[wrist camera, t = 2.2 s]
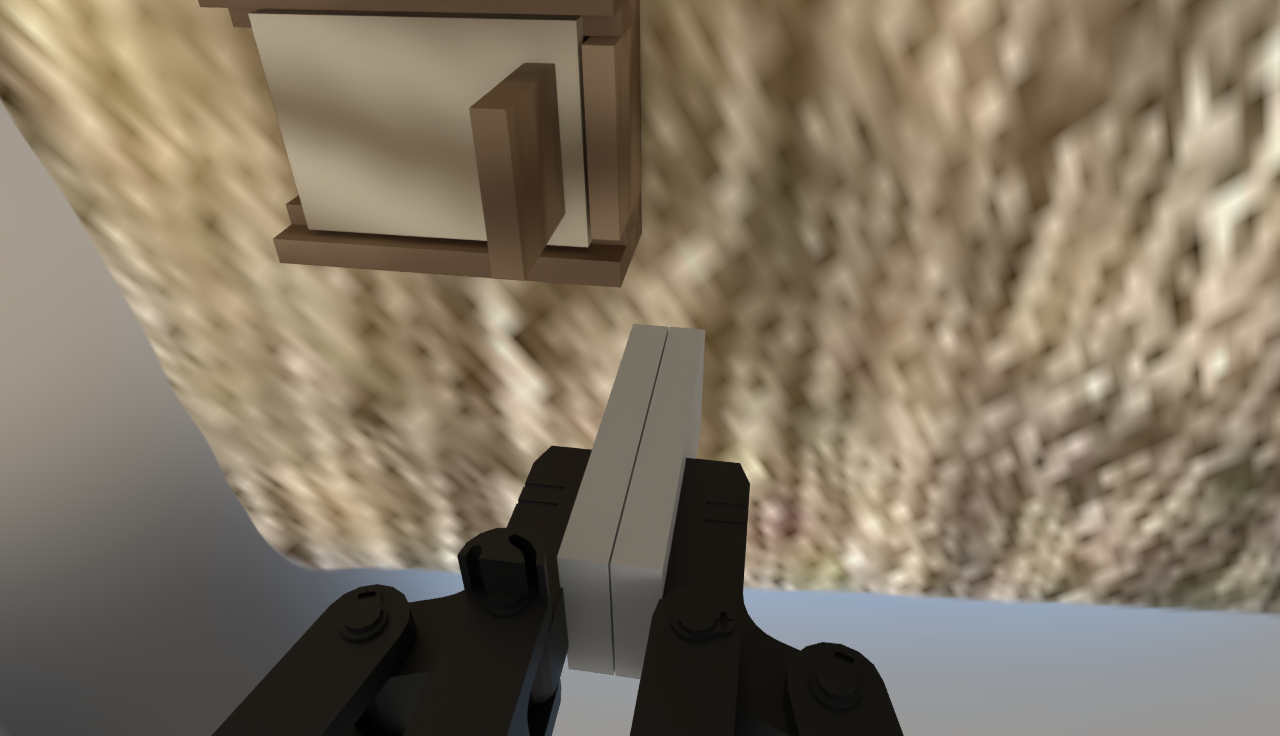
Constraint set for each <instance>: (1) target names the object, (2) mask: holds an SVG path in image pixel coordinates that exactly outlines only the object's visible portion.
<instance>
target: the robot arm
mask: <svg viewBox="0 0 1280 736" xmlns="http://www.w3.org/2000/svg"><path fill="white" fill-rule="evenodd" d="M704 343H705V330H703V329H690V328H678V327H670V328H669V332H668V327H665V326H652V325H639V324H633V327H632V330H631V333H630V336H629V339H628V342H627V345H626V348H625V351H624V354H623V358H622V361H621V364H620V367H619V370H618V373H617V376H616V379H615V382H614V385H613V388H612V391H611V394H610V397H609V400H608V403H607V406H606V409H605V412H604V415H603V418H602V421H601V424H600V428H599V431H598V434H597V437H596V440H595V443H594V446H593V449H592V450H589V449H580V448H570V447H560V446H551V447H550V448H549V449H548V450H547V451H546V452H545V453H543V454H542V455H541V456H540V457H539V458H538V459H537V460H536V461H535V462H534V463H533V466H532V468H531V470H530V473H529V475H528V478H527V480H526V483H525V487H523V490H522V492H521V495H520V497H519V499H518V504H516V507H515V509H514V511H513V514H512V516H511V519H510V521H509V523H508V526H507V528H495V529H492V530H489V531H486V532H483V533H480V534H479V535H477V536H476V537H474V538H473V539H471V540H470V541H469V542H467V543H466V544H465V546H464V547H463V548H462V550H461V551H460V552H459V554H458V555H457V556H458V561H459V566H460V570H461V575H462V579H463V584H464V588H465V590H463V591H461V592H459V593H457V594H454V595H450V596H446V597H442V598H435V599H430V600H422V601H416V602H409V603H408V602H407V599H406V597H405V595H404V594H402V593H401V592H400V591H398V590H397V589H395V588H394V587H390V586H384V585H378V584H376V585H370V586H363V587H359V588H357V589H355V590H353V591H350V592H348V593H346V594H344V595H342V596H341V597H340V598H339V599H338V600H336V601H335V602H334V603H333V604H331V605H330V606H329V607H328V608H327V609H326V611H325V612H324V613H323V614H322V615H321V616H320V617H319V618H318V619H317V621H315V623H314V624H313V625H312V626H311V627H310V628H309V629H308V630H307V631H306V632H305V634H304V635H303V636H302V637H301V638H300V639H299V640H298V641H297V642H296V644H295V645H294V646H293V647H292V648H291V649H290V650H289V651H288V652H287V653H286V654H285V656H284V657H283V658H282V659H281V660H280V661H279V662H278V663H277V664H276V665H275V667H274V668H273V669H272V670H271V671H270V672H269V673H268V674H267V675H266V676H265V678H264V679H263V680H262V681H261V682H260V683H259V684H258V685H257V686H256V687H255V688H254V690H253V691H252V692H251V693H250V694H249V695H248V696H247V697H246V698H245V699H244V701H243V702H242V703H241V704H240V705H239V706H238V707H237V708H236V709H235V710H234V711H233V713H232V714H231V715H230V716H229V717H228V718H227V719H226V720H225V721H224V722H223V724H222V725H221V726H220V727H219V728H218V729H217V730H216V731H215V732H214V734H213V735H212V736H552V732H553V729H554V724H555V721H556V717H557V713H558V710H559V706H560V701H561V682H560V676H561V672H562V669H563V665H564V661H565V658H566V654H567V657H568V666H569V669H574V670H581V671H588V672H594V673H601V674H609V675H614V671H615V675H616V676H622V677H630V678H636V679H640V684H639V690H638V695H637V700H636V706H635V711H634V716H633V722H632V727H631V732H630V736H903V733H902V730H901V727H900V725H899V722H898V719H897V716H896V714H895V711H894V708H893V706H892V703H891V700H890V698H889V695H888V692H887V689H886V687H885V684H884V682H883V679H882V678H881V676H880V674H879V673H878V671H877V669H876V668H875V666H874V664H872V663H871V662H870V661H869V660H868V659H867V658H865V657H864V656H863V655H862V654H861V653H860V652H858V651H855V650H853V649H851V648H849V647H846V646H844V645H842V644H835V643H825V642H822V643H818V644H814V645H810V646H806V647H805V648H804V649H802V650H801V651H800V650H798V649H796V648H793V647H791V646H789V645H786V644H784V643H782V642H780V641H778V640H776V639H774V638H772V637H771V636H769V635H767V634H766V633H764V632H763V631H762V630H761V629H760V628H759V627H758V626H756V624H755V623H754V622H753V620H752V619H751V618H750V616H749V615H748V613H747V610H746V607H745V605H744V599H743V584H744V568H745V553H746V537H747V522H748V506H749V491H750V483H749V481H748V479H747V477H746V475H745V473H744V471H743V469H742V466H741V464H740V463H733V462H723V461H713V460H704V459H696V454H697V448H698V442H699V435H700V428H701V407H702V385H703V364H704Z"/></svg>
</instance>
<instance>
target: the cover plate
mask: <svg viewBox="0 0 1280 736" xmlns="http://www.w3.org/2000/svg"><path fill="white" fill-rule="evenodd" d="M248 15H249V19H250V22H251V26H252V29H253V33H254V37H255V40H256V44H257V47H258V51H259V54H260V58H261V61H262V65H263V69H264V72H265V76H266V79H267V83H268V86H269V90H270V94H271V97H272V101H273V104H274V108H275V111H276V115H277V118H278V122H279V126H280V129H281V133H282V136H283V140H284V143H285V147H286V151H287V154H288V158H289V161H290V165H291V168H292V172H293V175H294V179H295V183H296V186H297V190H298V193H299V197H300V200H301V204H302V207H303V211H304V215H305V218H306V222H307V225H308V229H311V230H327V231H342V232H358V233H373V234H388V235H404V236H419V237H435V238H450V239H466V240H481V241H487V244H488V251H489V258H490V266H491V273H492V278H495V279H508V280H522V281H525V279H526V277H527V276H528V274H529V273H530V271H531V269H532V268H533V266H534V264H535V263H536V261H537V259H538V258H539V256H540V255H541V253H542V251H543V250H544V248H545V246H546V245H558V246H574V247H589V245H590V243H591V241H592V239H591V225H590V205H589V185H588V165H587V145H586V126H585V106H584V86H583V66H582V46H581V45H582V44H583V43H584V40H583V20H582V16H578V15H530V14H482V13H434V12H386V11H339V10H291V9H261V10H258V11H255V12H251V13H248Z"/></svg>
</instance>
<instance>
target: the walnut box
mask: <svg viewBox="0 0 1280 736" xmlns="http://www.w3.org/2000/svg"><path fill="white" fill-rule="evenodd" d="M198 1H199V4H200V7H221V8H228V9H229V12H230V16H231V19H232V22H233V26H234V27H250V28H252V26H251V22H250V19H249V15H248V13H251V12H255V11H258V10H261V9H291V10H339V11H386V12H434V13H482V14H530V15H578V16H582V20H583V40H584V43H583V44H582V45H581V46H582V66H583V86H584V106H585V126H586V145H587V165H588V185H589V205H590V225H591V239H592V241H591V243H590V245H589V247H574V246H558V245H546V246H545V248H544V250H543V251H542V253H541V255H540V256H539V258H538V259H537V261H536V263H535V264H534V266H533V268H532V269H531V271H530V273H529V274H528V276H527V277H526V279H525V280H526V281H540V282H554V283H568V284H582V285H595V286H609V287H621V285H622V283H623V280H624V277H625V275H626V272H627V270H628V267H629V264H630V262H631V259H632V257H633V254H634V252H635V249H636V246H637V244H638V241H639V239H640V236H641V233H642V217H641V105H640V0H198ZM286 206H287V210H288V213H289V217H290V220H291V223H292V225H290V226H289V227H288V228H287V229H285V230H284V231H283V232H281V233H280V234H279V235H277V236H276V237H275V238H273V241H274V244H275V247H276V251H277V254H278V257H279V260H280V263H289V264H303V265H317V266H331V267H345V268H359V269H373V270H387V271H401V272H415V273H429V274H442V275H456V276H470V277H484V278H492V273H491V266H490V258H489V251H488V244H487V241H481V240H466V239H450V238H435V237H419V236H404V235H388V234H373V233H358V232H342V231H327V230H311V229H308V225H307V222H306V218H305V215H304V211H303V207H302V204H301V200H300V197H299V195H298V196H297V197H296V198H294V199H293V200H291V201H290V202H289V203H287V204H286Z"/></svg>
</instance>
